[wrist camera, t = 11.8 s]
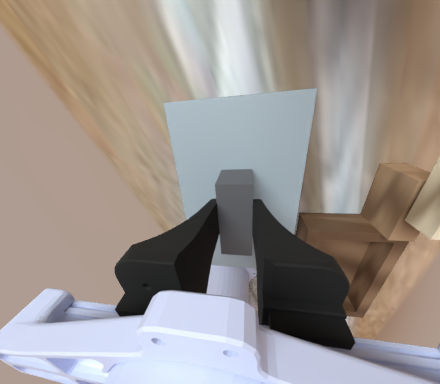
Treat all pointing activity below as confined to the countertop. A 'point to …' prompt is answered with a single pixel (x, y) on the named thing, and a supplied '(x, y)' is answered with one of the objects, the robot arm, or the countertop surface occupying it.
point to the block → (428, 206)
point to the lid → (242, 161)
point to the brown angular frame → (368, 233)
